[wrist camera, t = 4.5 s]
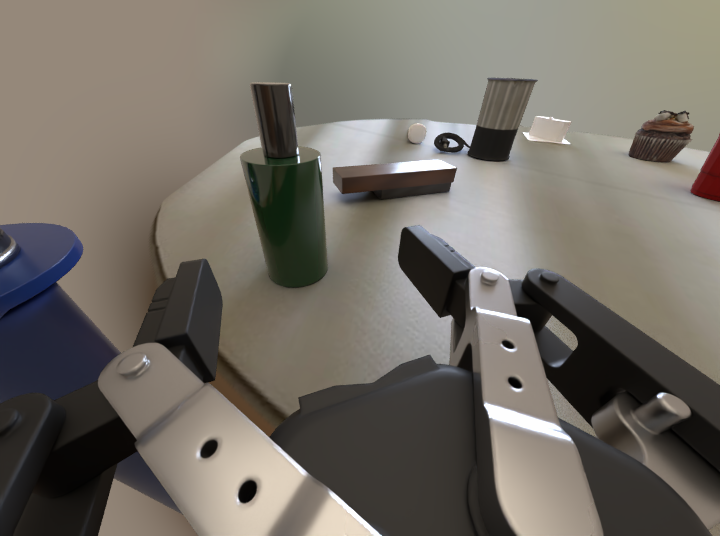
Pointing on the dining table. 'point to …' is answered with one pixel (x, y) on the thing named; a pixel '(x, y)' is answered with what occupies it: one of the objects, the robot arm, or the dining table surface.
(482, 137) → the milk frother
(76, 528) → the robot arm
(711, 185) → the plastic cup
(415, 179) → the brush
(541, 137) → the napkin holder
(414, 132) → the unicorn horn
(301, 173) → the green bottle
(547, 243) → the dining table surface
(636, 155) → the cupcake
